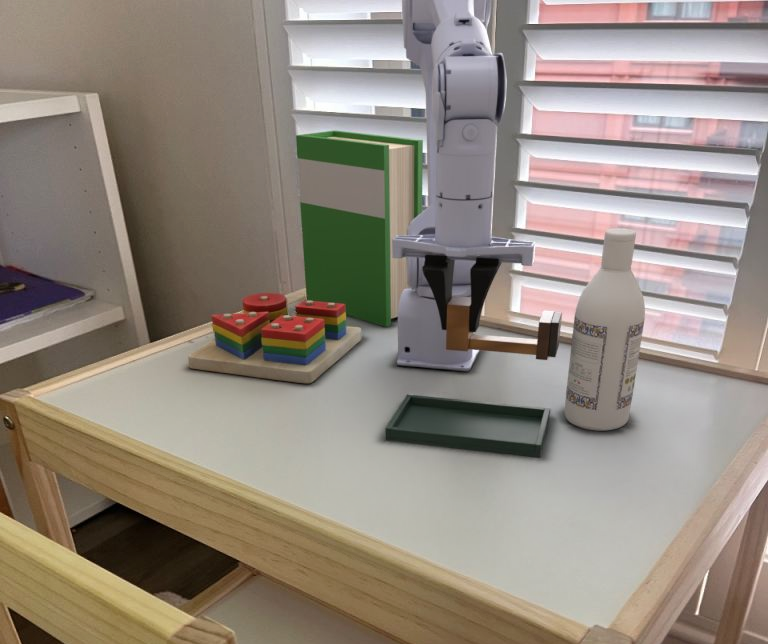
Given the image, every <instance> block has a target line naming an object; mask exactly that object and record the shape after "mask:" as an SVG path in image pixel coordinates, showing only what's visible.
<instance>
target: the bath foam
mask: <svg viewBox="0 0 768 644" xmlns="http://www.w3.org/2000/svg"><path fill="white" fill-rule="evenodd" d="M636 237H637V232H636V231H635V230H634V229H630V228H624V227H613V228H608V229H606V230H605V232H604V238H603V247H602V253H601V263H600V265H601V266H600V268H599V269H598V270H597V272H595V274H594V275H593V277H592V278H591V279H590V281H588V283H587V284H586V286H585V287H584V288H583V290H582V292H581V294H580V296H579V298H578V302H577V303H576V304H577V305H576V307H575V311H574V317H573V319H574V320H573V328H572V337H571V344H570V348H571V349H570V354H569V355H570V356H569V365H568V373H567V383H566V392H565V400H564V401H565V402H564V411H563V412H564V416H565V419H566V420H567V421H568V422H569V423H570V424H572V425H574V426H576V427H578V428H580V429H585V430H589V431H600V432H601V431H612V430H616V429H619V428H622V427H623V426H625V425H626V424H627V423H628V421H629V419H630V413H631V407H632V402H633V395H634V389H635V383H636V376H637V371H638V370H637V369H638V365H639V364H638V363H639V357H640V351H641V345H642V338H643V332H644V327H645V326H644V325H645V318H646V317H645V315H646V306H645V299H644V295H643V292H642V289H641V287H640V284H639V282H638V280H637V278H636V277H635V274H634V273H633V270H632V264H633V257H634V251H635V244H636Z"/></svg>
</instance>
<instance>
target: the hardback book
mask: <svg viewBox="0 0 768 644" xmlns="http://www.w3.org/2000/svg"><path fill="white" fill-rule="evenodd" d="M295 144H296V156H297V157H296V160H297V174H298V176H297V177H298V188H299V189H298V191H299V205H300V222H301V234H302V237H301V238H302V251H303V252H302V253H303V266H304V267H303V268H304V281H305V283H304V284H305V296H306V300H308V301H318V302H329V303H340V304H345V306H346V311H345V312H346V316H350V317H353V318H356V319H360V320H361V321H362V320H363V321H366V322H369V323H372V324H375V325H379V326H382V327H384V328H388V327H390V326H392V319H395V318H398V307H399V301H400V297H401V294H402V292H403V290H404V289H411V287H410V286H409V285H408V284H407V272H406V257H403V258H392V239H393V238H394V237H396V236H397V235H407V229H408V227H409V226H410V222H411V221H412V220H413V219H414V218H416V217H417V216H418V215H419V214H420V213H422V212H423V171H424V170H423V168H424V167H423V164H424V163H423V162H424V161H423V160H424V159H423V158H424V157H423V156H424V153H423V151H424V150H423V149H424V140H423V139H418V138H410V137H409V138H408V137H401V136H390V135H382V134H372V133H362V132H353V131H343V130H336V129H335V130H327V131H319V132H312V133H303V134H296V135H295Z"/></svg>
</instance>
